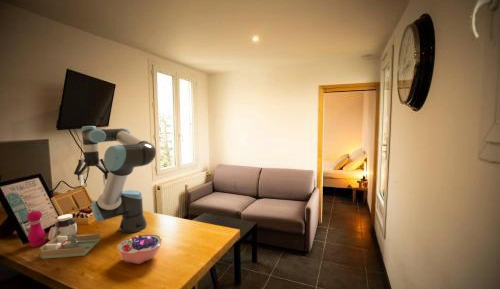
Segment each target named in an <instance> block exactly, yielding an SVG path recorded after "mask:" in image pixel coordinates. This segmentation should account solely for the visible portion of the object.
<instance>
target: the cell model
mask: <svg viewBox="0 0 500 289" xmlns="http://www.w3.org/2000/svg"><path fill="white" fill-rule="evenodd" d="M162 241H163V240H162V238H161V236H160V235H157V234H148V233H147V234H146V233H145V234H138V235H137V236H136V235H135V236H132V237H129V238H126V239H124V240H122V241H121V242H120V243H118V244H117V246H116V248H117V250H118V252H119V255H120V258H121V259H122V260H123V261H124V262H126V263H129V264H130V263H131V264H135V265H140V264H142V263H144V262H147V261H150V260H151V259H153V258H154V257H155V256H156V255H157V254H158V251H159V249H160V248H161V246H162Z"/></svg>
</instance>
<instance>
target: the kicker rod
mask: <svg viewBox="0 0 500 289" xmlns="http://www.w3.org/2000/svg"><path fill="white" fill-rule="evenodd" d="M75 221H76V219H75V218H73V219H70V220H69V221H68V224H69V229H70V239H71V241H68V240H65V241H64V242H63V243H61V249H63V248H73V247H77V246H78V245H80V240H79V241H77V240H76V235H77V231H76V230H75Z"/></svg>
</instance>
